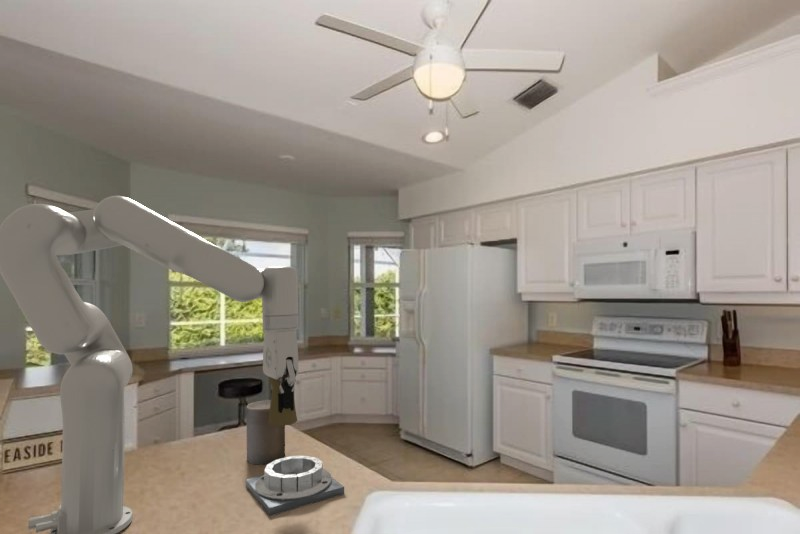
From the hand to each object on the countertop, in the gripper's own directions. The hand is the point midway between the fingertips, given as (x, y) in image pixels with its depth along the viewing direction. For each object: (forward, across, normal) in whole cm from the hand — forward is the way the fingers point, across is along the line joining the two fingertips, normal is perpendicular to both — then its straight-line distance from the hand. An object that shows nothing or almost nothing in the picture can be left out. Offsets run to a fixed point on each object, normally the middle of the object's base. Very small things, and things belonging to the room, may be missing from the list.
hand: (282, 408), depth 97 cm
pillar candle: (+18, -23, +3) cm, 29 cm away
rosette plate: (+18, 0, +2) cm, 18 cm away
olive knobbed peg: (+3, 0, 0) cm, 3 cm away
